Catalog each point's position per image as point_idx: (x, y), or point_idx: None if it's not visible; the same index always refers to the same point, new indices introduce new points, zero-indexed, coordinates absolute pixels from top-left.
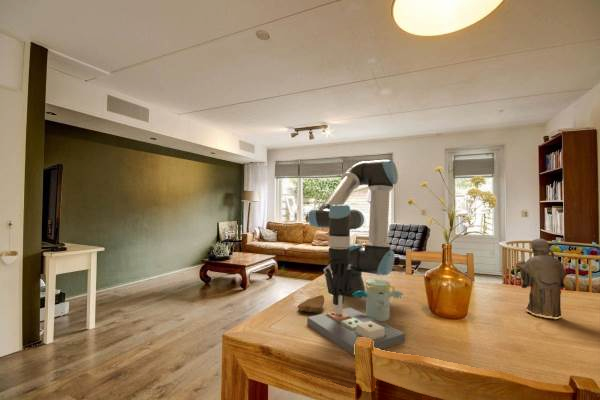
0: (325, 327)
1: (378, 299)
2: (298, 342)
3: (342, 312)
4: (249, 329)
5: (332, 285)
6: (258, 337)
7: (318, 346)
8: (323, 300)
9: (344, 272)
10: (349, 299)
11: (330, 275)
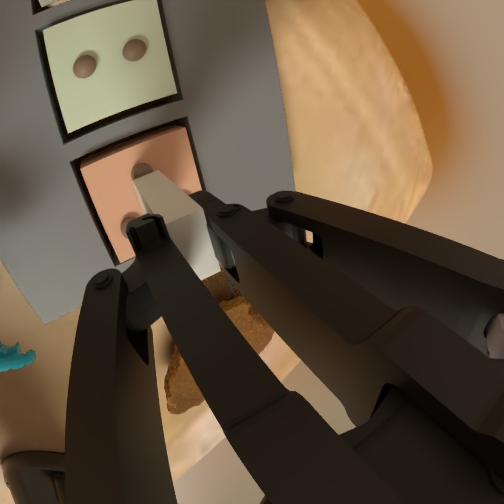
0: (270, 69)
1: None
2: (349, 62)
3: (113, 227)
4: (407, 189)
5: (361, 223)
6: (407, 137)
7: (306, 7)
8: (174, 380)
9: (311, 473)
10: (46, 432)
11: (488, 269)
